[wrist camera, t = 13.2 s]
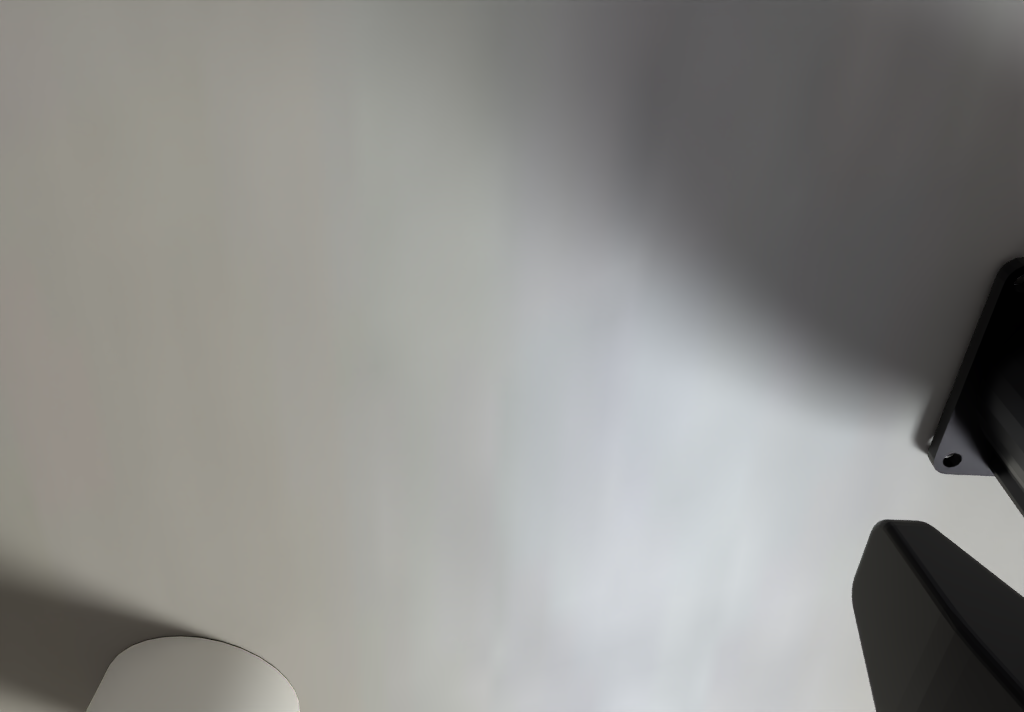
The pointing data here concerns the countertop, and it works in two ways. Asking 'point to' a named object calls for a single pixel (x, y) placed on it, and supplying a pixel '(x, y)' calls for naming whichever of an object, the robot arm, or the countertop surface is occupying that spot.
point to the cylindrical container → (192, 680)
